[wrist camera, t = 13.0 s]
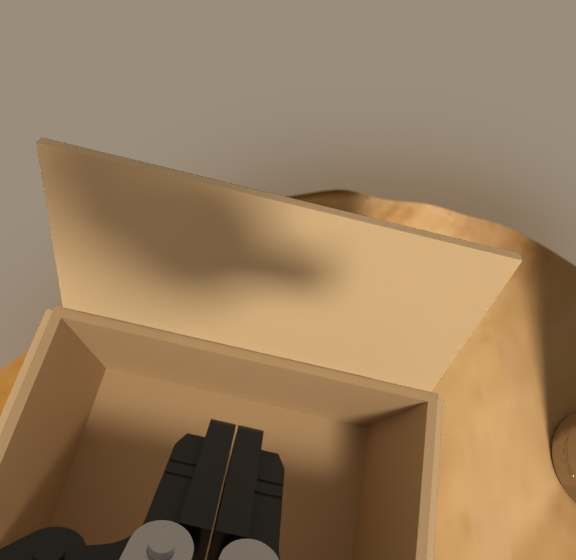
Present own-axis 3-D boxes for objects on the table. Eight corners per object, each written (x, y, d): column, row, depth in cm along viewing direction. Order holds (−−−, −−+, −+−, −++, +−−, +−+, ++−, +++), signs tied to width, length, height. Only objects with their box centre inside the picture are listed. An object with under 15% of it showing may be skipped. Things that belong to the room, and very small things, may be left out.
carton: (377, 424, 44) (444, 395, 31) (347, 680, 36) (419, 782, 23) (98, 361, 43) (48, 304, 30) (7, 610, 35) (-113, 678, 22)
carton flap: (430, 391, 31) (430, 385, 31) (522, 260, 23) (520, 253, 24) (62, 307, 30) (66, 301, 30) (36, 142, 22) (41, 137, 23)
